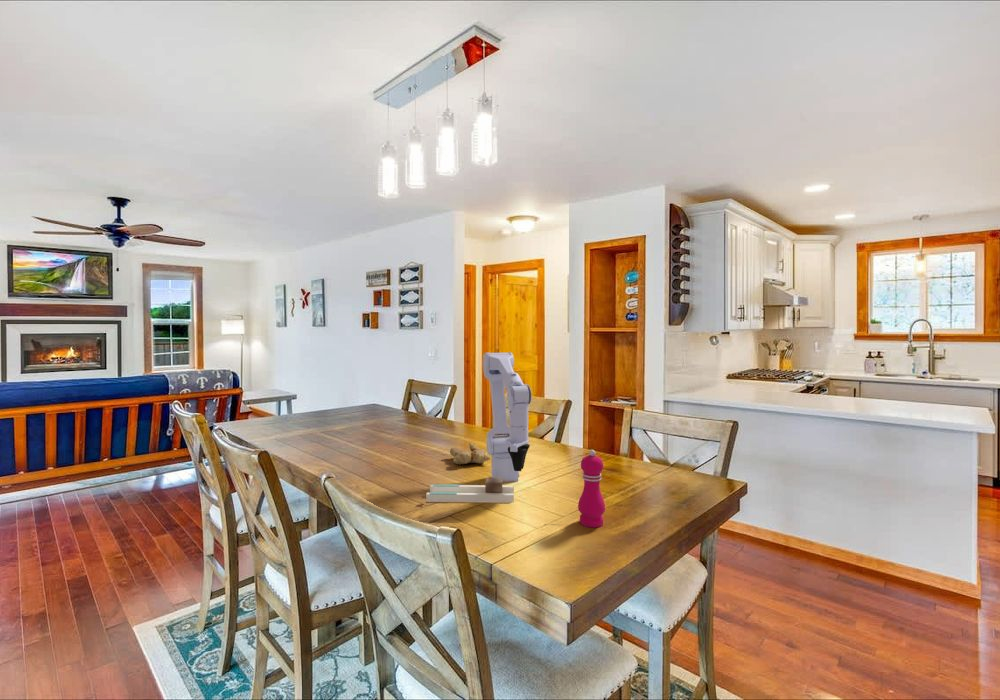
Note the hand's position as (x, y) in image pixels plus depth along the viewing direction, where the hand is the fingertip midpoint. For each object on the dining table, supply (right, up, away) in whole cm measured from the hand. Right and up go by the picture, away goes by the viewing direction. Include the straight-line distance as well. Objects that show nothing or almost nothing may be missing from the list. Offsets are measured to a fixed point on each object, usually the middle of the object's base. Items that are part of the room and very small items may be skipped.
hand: (518, 469), depth 153 cm
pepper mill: (+19, -11, -17) cm, 28 cm away
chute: (-14, -9, +1) cm, 17 cm away
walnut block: (-7, -8, +1) cm, 11 cm away
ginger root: (-17, -8, +41) cm, 45 cm away
